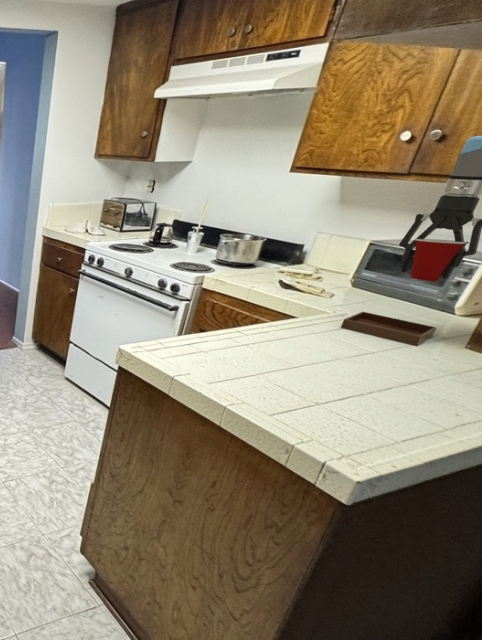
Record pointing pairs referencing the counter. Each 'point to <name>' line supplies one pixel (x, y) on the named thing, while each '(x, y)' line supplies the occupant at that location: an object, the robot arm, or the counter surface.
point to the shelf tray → (389, 328)
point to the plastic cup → (433, 257)
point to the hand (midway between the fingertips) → (423, 274)
